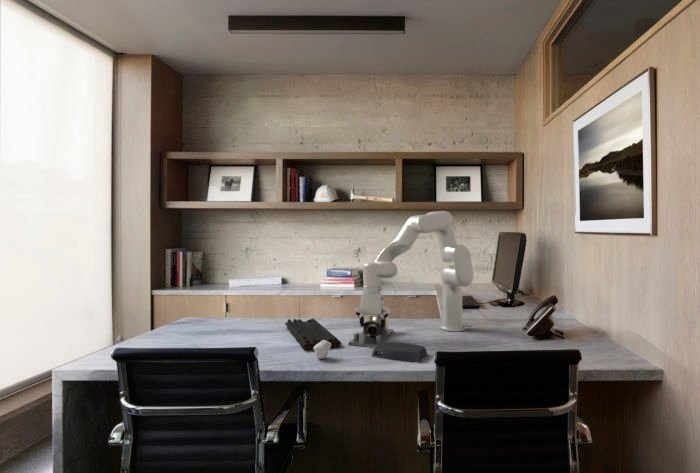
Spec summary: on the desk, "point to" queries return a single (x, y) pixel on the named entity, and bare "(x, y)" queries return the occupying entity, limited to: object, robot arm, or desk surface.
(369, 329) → the morel mushroom
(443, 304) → the robot arm
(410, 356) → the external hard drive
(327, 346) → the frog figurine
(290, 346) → the desk surface
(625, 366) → the desk surface
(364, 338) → the stand
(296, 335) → the keyboard
